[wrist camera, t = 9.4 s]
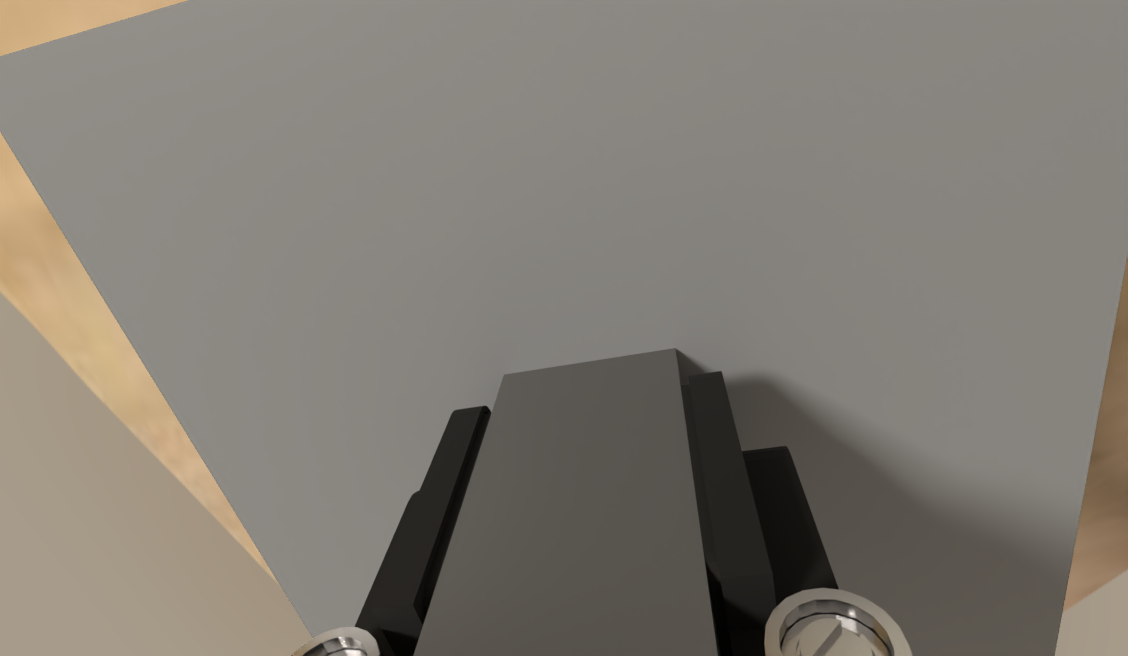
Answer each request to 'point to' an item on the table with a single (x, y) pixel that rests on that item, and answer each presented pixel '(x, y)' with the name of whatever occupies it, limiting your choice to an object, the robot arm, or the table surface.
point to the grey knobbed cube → (613, 286)
